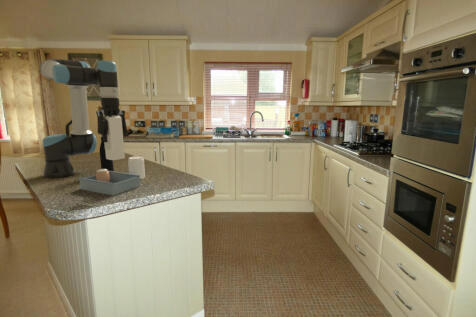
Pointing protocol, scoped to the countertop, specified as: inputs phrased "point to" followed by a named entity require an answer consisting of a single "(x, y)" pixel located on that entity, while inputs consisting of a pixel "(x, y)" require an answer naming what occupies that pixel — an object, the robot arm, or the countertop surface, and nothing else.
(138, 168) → the beverage can
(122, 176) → the tote
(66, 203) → the countertop surface
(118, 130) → the milk
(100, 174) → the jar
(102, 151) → the wine bottle
